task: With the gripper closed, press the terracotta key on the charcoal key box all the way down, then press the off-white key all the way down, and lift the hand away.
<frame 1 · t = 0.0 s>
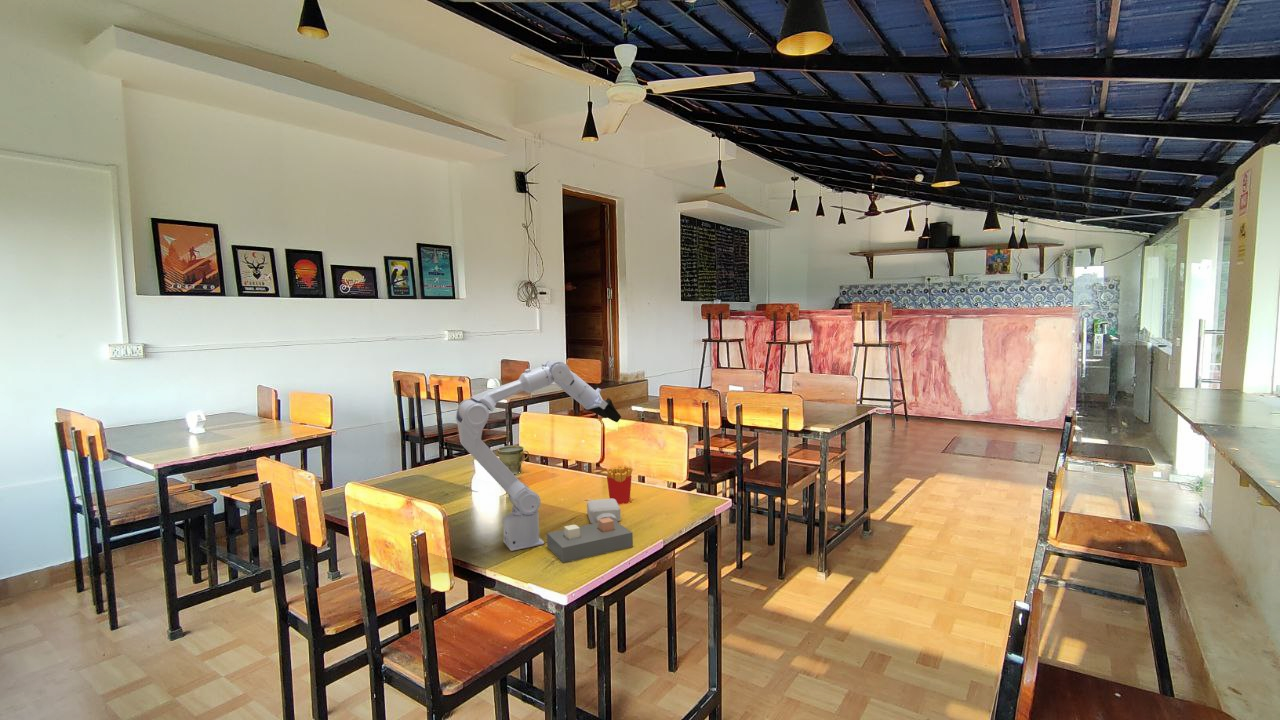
hand: (613, 417, 181), 32 cm above the table, tool tilted 50°, fingers open, 7 cm apart
french fries: (620, 502, 204), on the table
ceramic cup: (514, 473, 243), on the table
key box: (589, 547, 166), on the table
charger: (605, 522, 186), on the table
terracotta key: (606, 525, 168), point 5 cm above the table, slide at 0.0 cm
offwhite key: (572, 532, 164), point 5 cm above the table, slide at 0.0 cm
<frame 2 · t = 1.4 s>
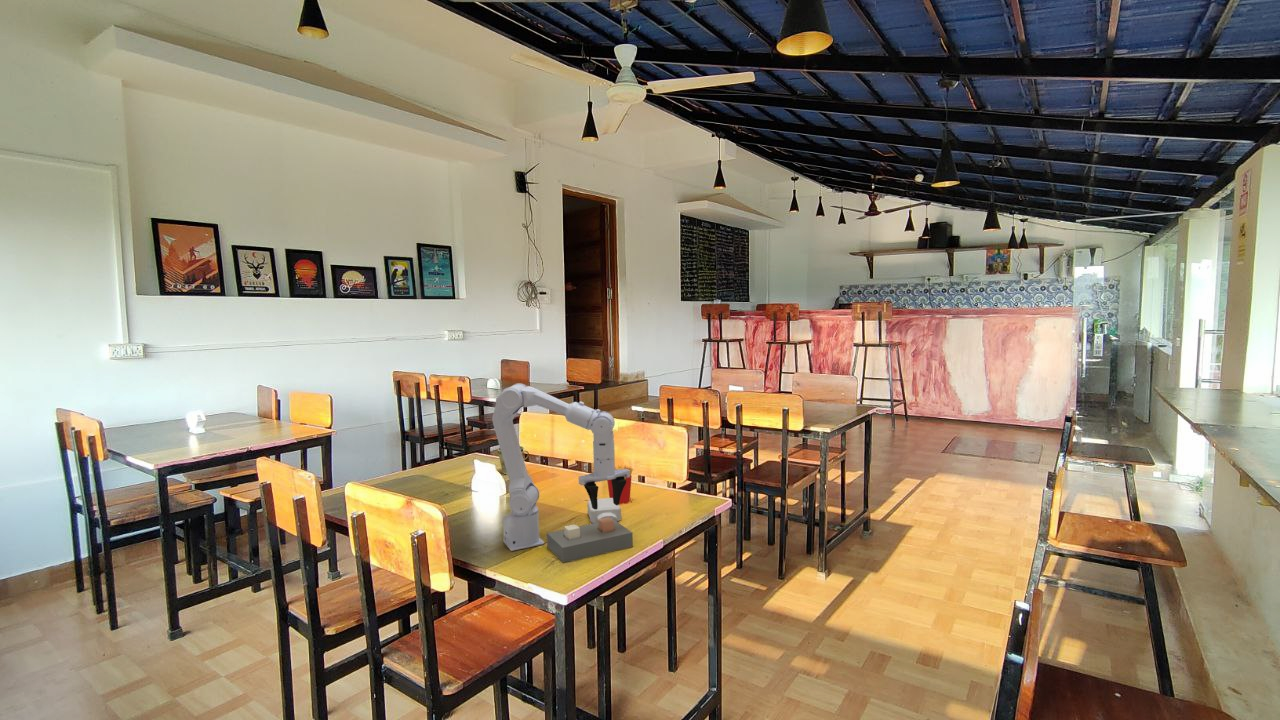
hand: (605, 506, 168), 10 cm above the table, tool pointing down, fingers open, 6 cm apart
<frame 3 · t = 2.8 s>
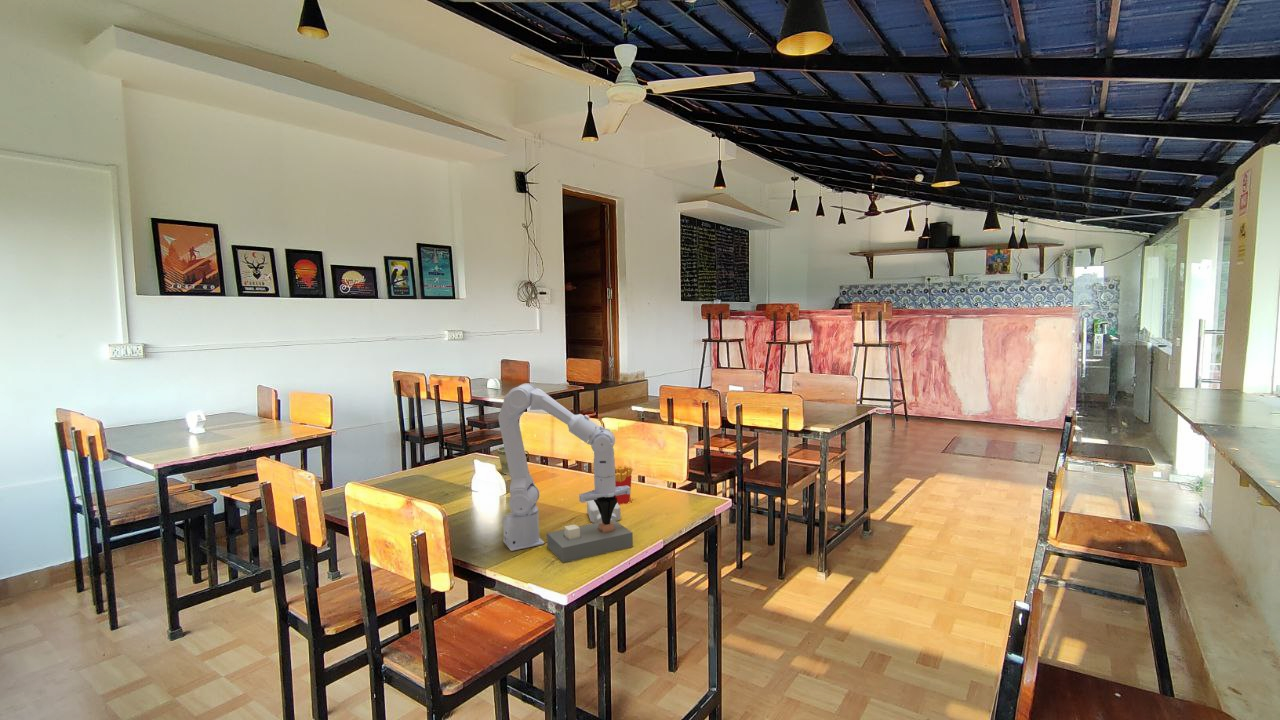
hand: (606, 523, 168), 6 cm above the table, tool pointing down, fingers closed, pressing on terracotta key
terracotta key: (606, 528, 168), point 4 cm above the table, slide at 0.9 cm, touching gripper
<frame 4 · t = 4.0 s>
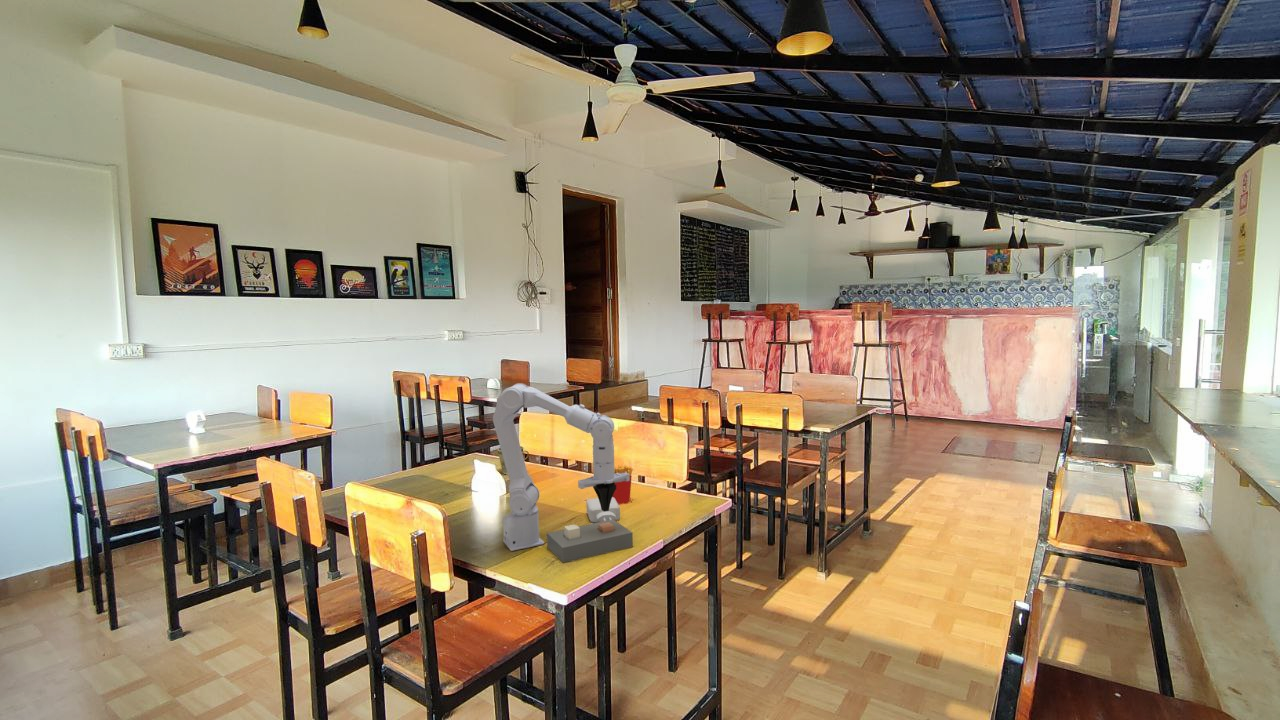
hand: (605, 510, 168), 9 cm above the table, tool pointing down, fingers closed
terracotta key: (606, 530, 168), point 4 cm above the table, slide at 1.4 cm
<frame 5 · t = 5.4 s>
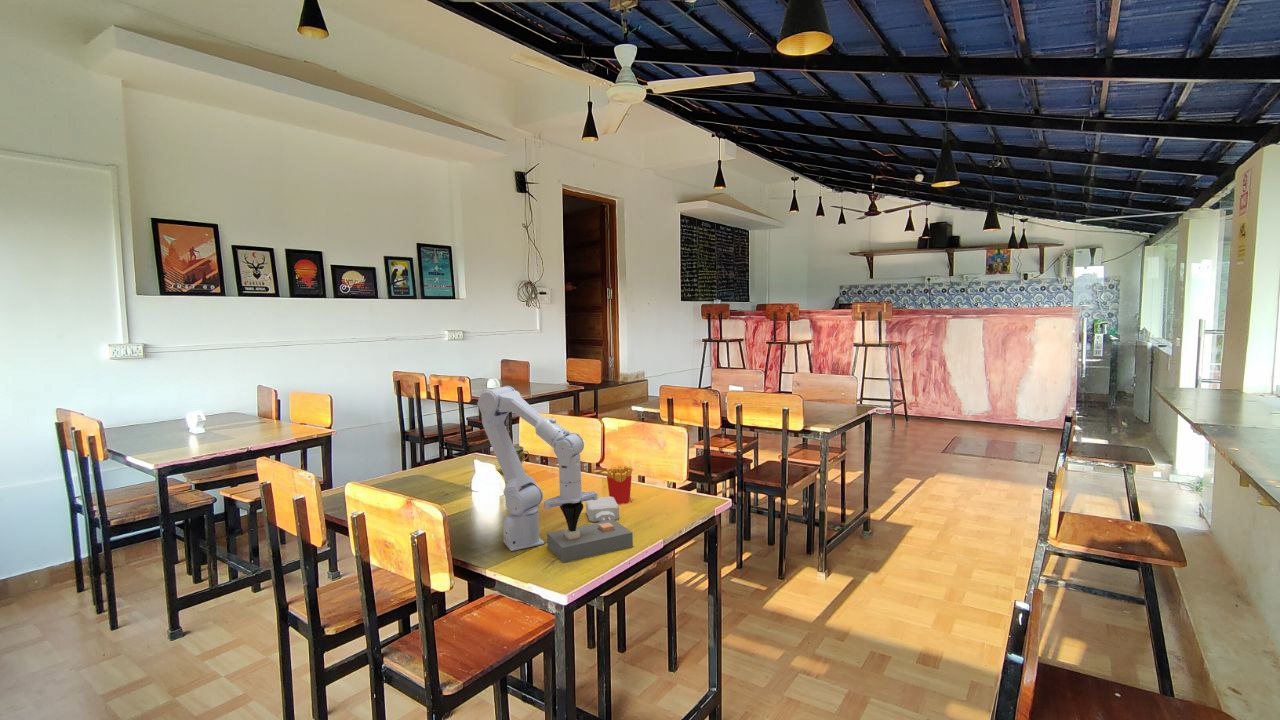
hand: (572, 530, 164), 6 cm above the table, tool pointing down, fingers closed, pressing on offwhite key
offwhite key: (572, 535, 164), point 4 cm above the table, slide at 0.8 cm, touching gripper
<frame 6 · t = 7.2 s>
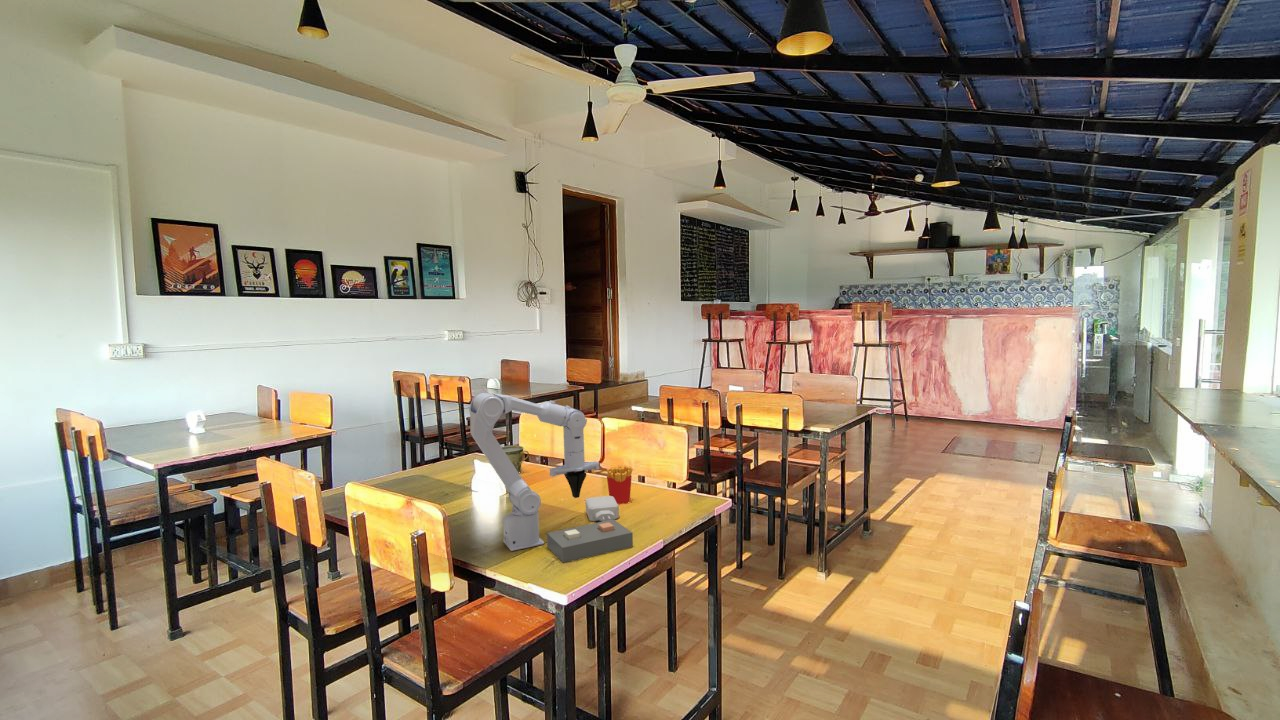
hand: (575, 496, 177), 10 cm above the table, tool pointing down, fingers closed
offwhite key: (572, 537, 164), point 4 cm above the table, slide at 1.4 cm
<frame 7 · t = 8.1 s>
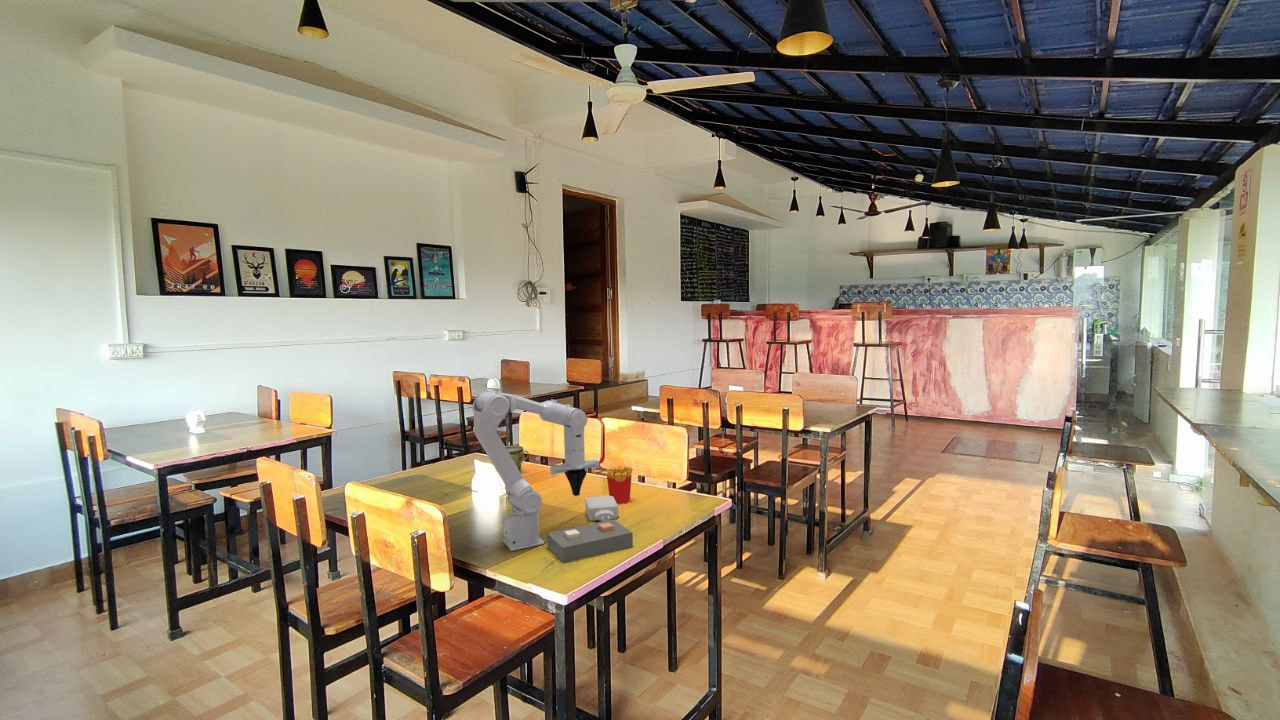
hand: (576, 494, 179), 10 cm above the table, tool pointing down, fingers closed
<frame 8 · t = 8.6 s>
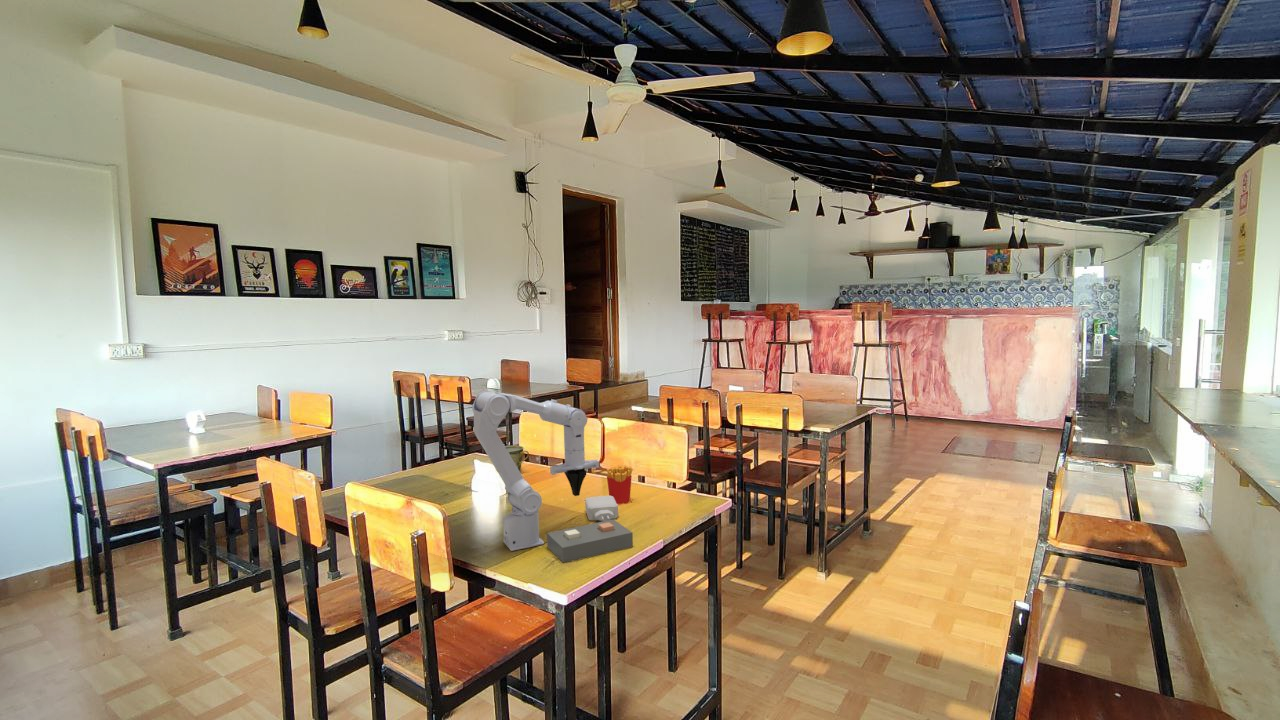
hand: (576, 494, 179), 10 cm above the table, tool pointing down, fingers closed
at the end: terracotta key slide at 1.4 cm; offwhite key slide at 1.4 cm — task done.
